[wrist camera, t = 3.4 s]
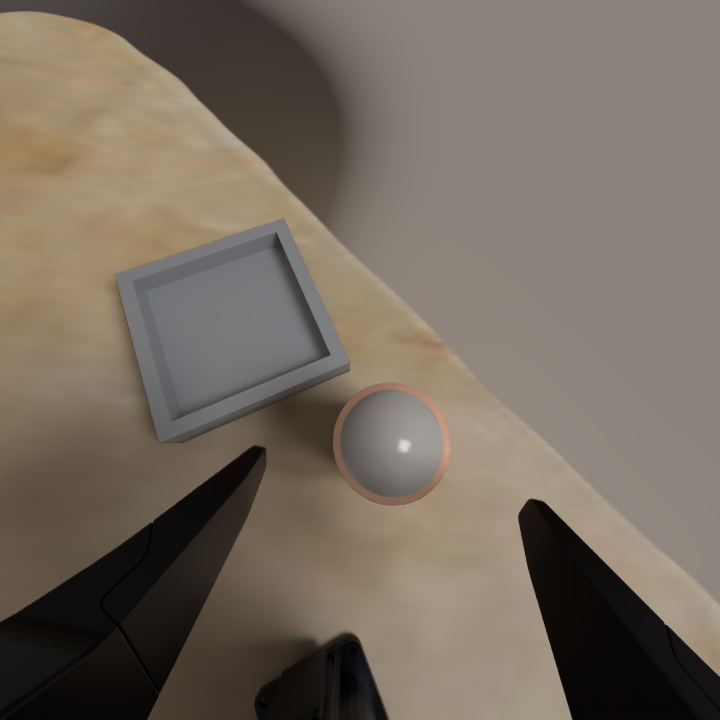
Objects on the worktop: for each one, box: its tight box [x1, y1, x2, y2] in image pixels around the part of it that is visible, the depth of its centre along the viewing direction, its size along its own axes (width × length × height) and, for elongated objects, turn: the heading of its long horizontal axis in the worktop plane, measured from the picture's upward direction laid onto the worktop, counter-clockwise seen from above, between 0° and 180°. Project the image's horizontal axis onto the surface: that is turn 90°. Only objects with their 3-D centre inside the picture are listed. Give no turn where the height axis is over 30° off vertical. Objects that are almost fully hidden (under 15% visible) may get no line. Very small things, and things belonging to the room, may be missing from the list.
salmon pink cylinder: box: [333, 383, 450, 506], centre depth 16 cm, size 5×5×9 cm
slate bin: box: [115, 218, 350, 443], centre depth 21 cm, size 13×13×2 cm
